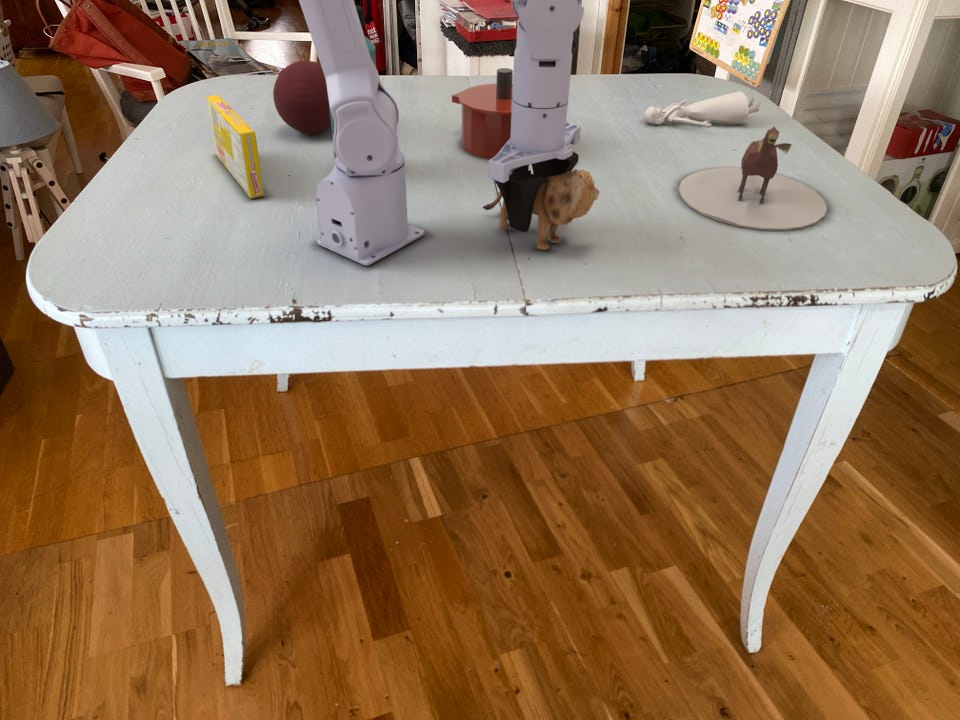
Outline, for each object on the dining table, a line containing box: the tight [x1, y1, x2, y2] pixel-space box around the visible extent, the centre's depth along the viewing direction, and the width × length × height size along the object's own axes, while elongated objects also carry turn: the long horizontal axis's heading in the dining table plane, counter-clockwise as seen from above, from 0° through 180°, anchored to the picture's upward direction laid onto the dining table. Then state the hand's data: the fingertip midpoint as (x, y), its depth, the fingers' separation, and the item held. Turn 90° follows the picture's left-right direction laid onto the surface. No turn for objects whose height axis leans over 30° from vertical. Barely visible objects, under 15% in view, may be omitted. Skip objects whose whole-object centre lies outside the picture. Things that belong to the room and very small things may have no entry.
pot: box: [451, 91, 511, 160], centre depth 101 cm, size 12×17×6 cm
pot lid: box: [459, 67, 513, 116], centre depth 98 cm, size 13×13×5 cm
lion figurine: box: [482, 169, 601, 251], centre depth 78 cm, size 15×5×9 cm, turn 48°
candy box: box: [206, 94, 265, 200], centre depth 90 cm, size 16×2×8 cm, turn 31°
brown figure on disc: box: [678, 126, 828, 232], centre depth 87 cm, size 18×18×11 cm
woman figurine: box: [644, 90, 762, 128], centre depth 111 cm, size 12×4×18 cm
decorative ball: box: [272, 60, 332, 135], centre depth 103 cm, size 10×10×10 cm
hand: (531, 221), depth 80 cm, fingers closed on lion figurine, 4 cm apart
